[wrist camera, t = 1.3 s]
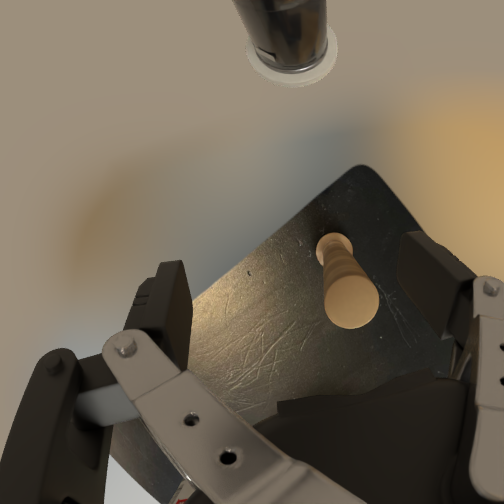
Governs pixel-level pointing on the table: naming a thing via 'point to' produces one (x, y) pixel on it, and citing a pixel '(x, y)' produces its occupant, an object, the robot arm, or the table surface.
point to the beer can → (182, 493)
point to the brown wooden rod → (345, 283)
